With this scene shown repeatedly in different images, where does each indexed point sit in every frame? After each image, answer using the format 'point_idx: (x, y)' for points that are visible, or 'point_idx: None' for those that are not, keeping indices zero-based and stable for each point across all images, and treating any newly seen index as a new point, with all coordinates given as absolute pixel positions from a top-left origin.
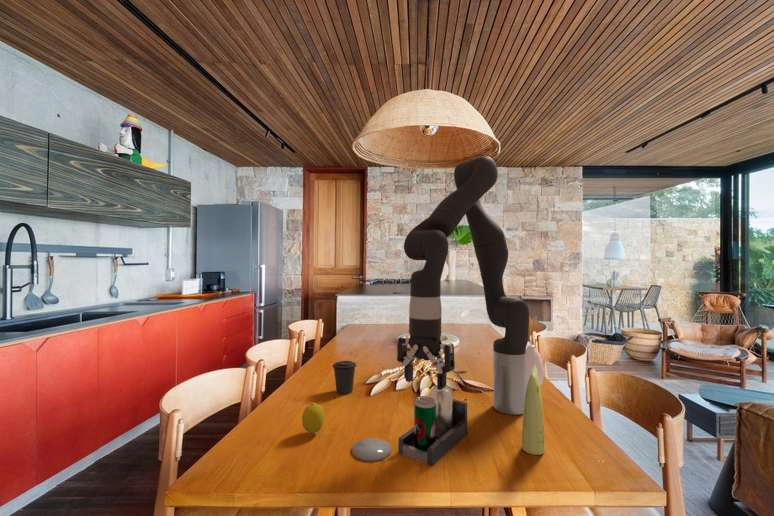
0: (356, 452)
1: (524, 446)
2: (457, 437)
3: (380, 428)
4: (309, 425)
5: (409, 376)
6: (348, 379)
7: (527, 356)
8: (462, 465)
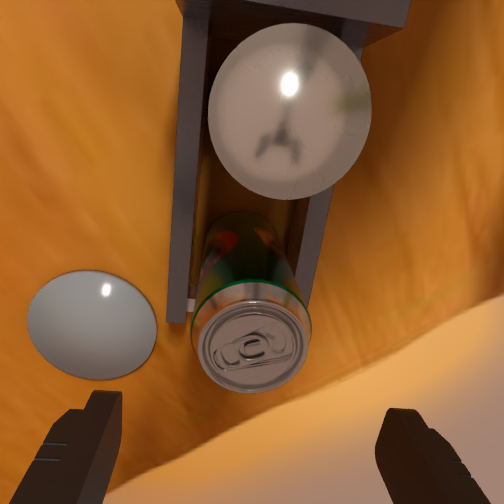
0: (72, 368)
1: None
2: None
3: (8, 184)
4: None
5: (109, 469)
6: None
7: None
8: (371, 259)
